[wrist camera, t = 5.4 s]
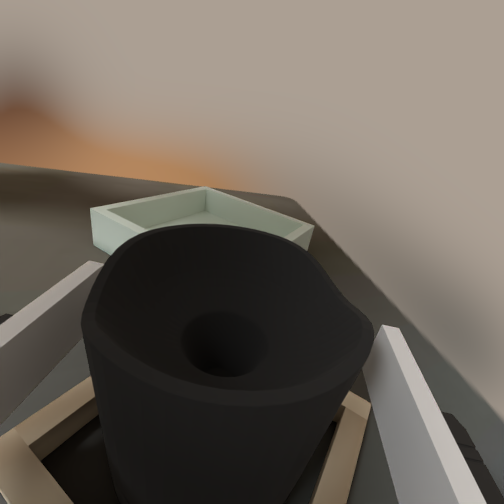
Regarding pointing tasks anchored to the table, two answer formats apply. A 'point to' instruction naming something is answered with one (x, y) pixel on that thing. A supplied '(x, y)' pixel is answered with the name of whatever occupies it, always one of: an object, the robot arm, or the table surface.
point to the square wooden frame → (85, 409)
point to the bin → (189, 217)
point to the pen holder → (217, 363)
